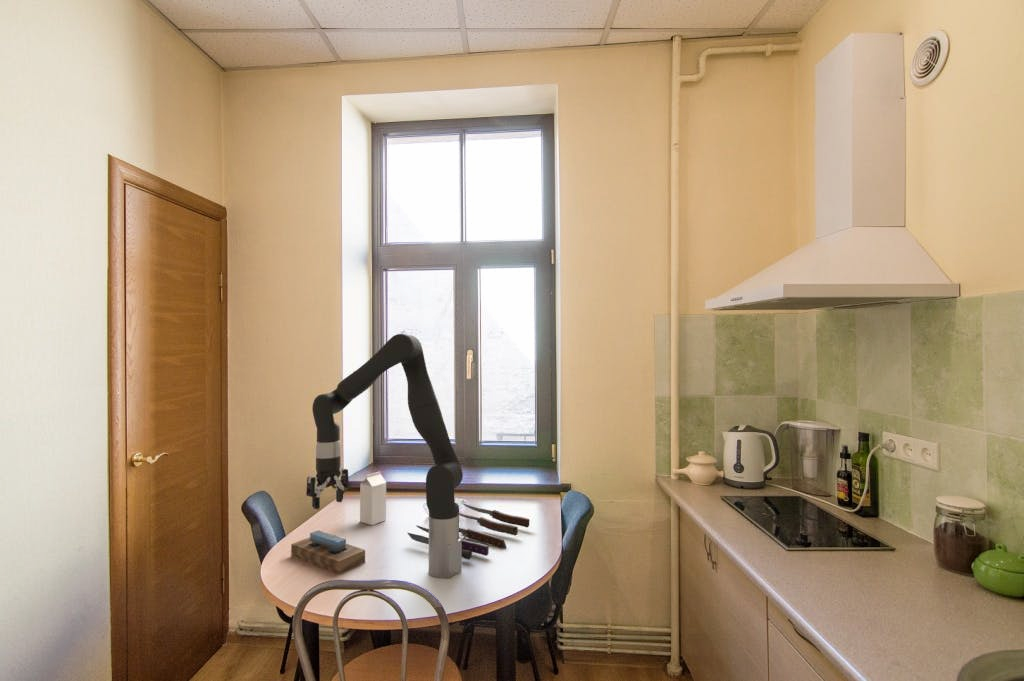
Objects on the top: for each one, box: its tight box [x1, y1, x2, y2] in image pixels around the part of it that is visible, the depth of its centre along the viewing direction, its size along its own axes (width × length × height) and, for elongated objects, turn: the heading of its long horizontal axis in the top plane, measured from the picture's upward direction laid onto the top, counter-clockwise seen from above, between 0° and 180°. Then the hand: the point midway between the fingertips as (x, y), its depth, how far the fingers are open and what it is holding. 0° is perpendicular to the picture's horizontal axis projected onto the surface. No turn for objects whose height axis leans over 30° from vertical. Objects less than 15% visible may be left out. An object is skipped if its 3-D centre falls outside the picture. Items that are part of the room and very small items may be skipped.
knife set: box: [406, 501, 530, 560], centre depth 174 cm, size 35×33×8 cm
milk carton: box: [359, 470, 387, 526], centre depth 191 cm, size 7×7×19 cm
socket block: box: [290, 536, 366, 575], centre depth 156 cm, size 24×10×4 cm, turn 57°
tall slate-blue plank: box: [309, 530, 347, 555], centre depth 156 cm, size 14×3×8 cm, turn 58°
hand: (328, 505), depth 156 cm, fingers open, 8 cm apart
